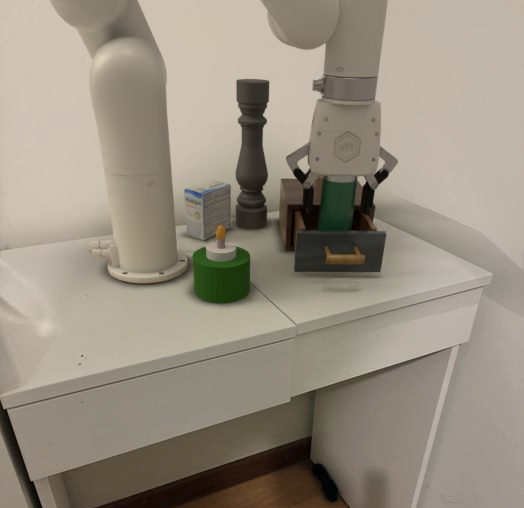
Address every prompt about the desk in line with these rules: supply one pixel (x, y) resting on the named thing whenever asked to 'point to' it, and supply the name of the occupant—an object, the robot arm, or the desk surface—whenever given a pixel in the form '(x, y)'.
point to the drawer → (336, 245)
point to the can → (337, 203)
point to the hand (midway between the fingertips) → (336, 211)
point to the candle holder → (252, 153)
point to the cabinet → (293, 200)
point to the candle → (221, 271)
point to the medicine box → (207, 208)
